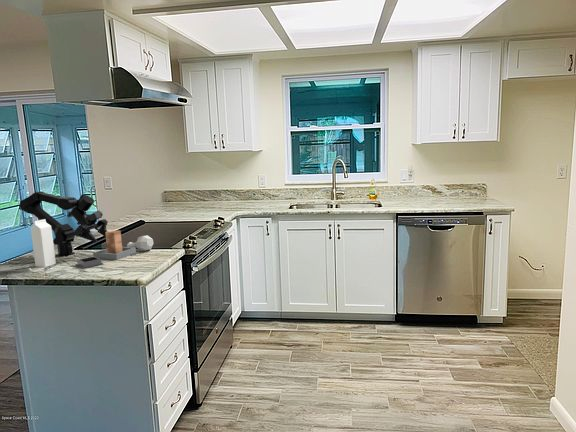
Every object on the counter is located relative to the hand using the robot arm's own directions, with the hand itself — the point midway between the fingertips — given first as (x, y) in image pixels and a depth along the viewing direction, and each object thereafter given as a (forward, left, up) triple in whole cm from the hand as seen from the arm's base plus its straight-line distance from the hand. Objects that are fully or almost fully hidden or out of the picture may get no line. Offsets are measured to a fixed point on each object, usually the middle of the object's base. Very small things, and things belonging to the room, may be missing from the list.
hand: (102, 239), depth 215 cm
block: (+7, 0, -8) cm, 10 cm away
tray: (+6, 0, -9) cm, 11 cm away
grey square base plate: (+6, -17, -9) cm, 20 cm away
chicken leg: (+8, +17, -9) cm, 21 cm away
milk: (-15, -22, -9) cm, 28 cm away
